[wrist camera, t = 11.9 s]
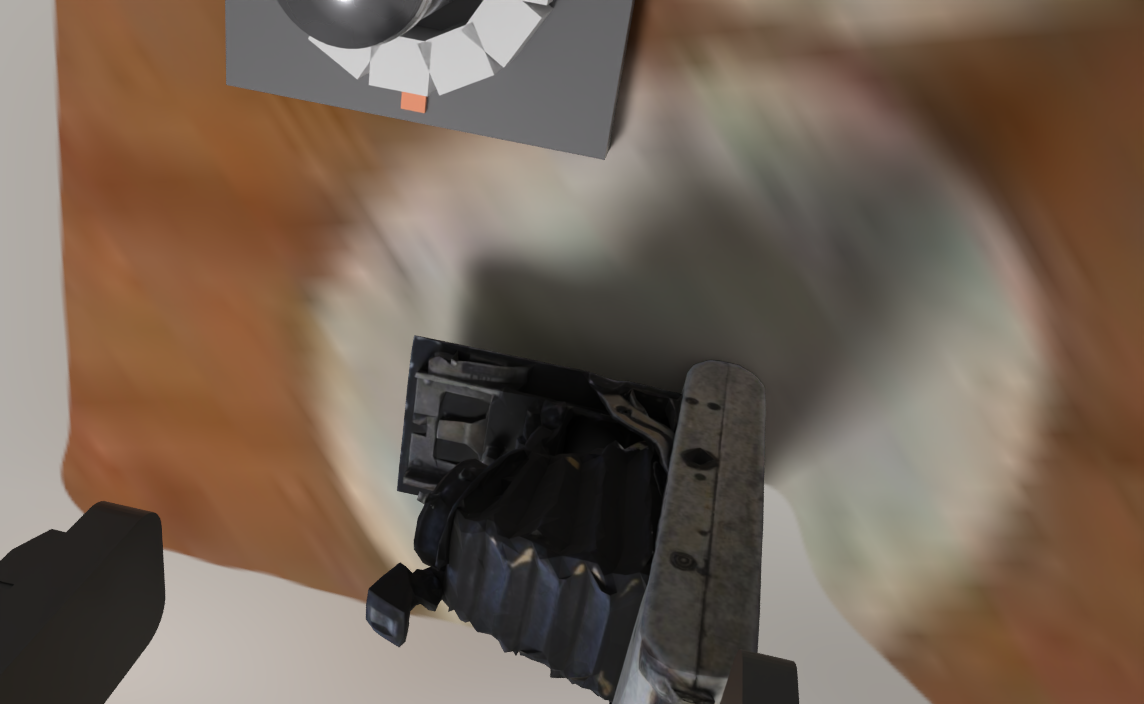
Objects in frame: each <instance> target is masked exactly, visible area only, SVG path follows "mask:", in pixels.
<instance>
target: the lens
mask: <svg viewBox="0 0 1144 704" xmlns="http://www.w3.org/2000/svg"><path fill="white" fill-rule="evenodd" d="M277 1H278V3H279V5H280V6H281V7H282V9H283V10H284V12H285V13H286V14H287V16H288V17H289V18H290V19H291V20H292V21H293V22H294V23H295V24H296V25H297V26H298V27H299V28H300V29H301V30H302V31H304V32H305V33H307V34H308V35H309V36H311V37H313V38H314V39H316V40H318V41H320V42H322V43H325V44H327V45H330V46H334V47H338V48H345V49H360V48H367V47H372V46H378V45H381V44H385V43H387V42H389V41H391V40H394V39H396V38H397V37H399V36H401V35H402V34H404V33H405V32H407V31H408V30H410V29H411V28H412V27H413V26H414V25H416V24H417V23H418V22H419V21H420V20H421V19H423V18H425V17H427V16H428V15H430V14H432V13H433V12H435V11H437V10H439V9H440V8H442V7H444V6H445V5H447V4H449V3H451V2H452V1H454V0H277Z"/></svg>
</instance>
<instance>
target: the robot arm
mask: <svg viewBox="0 0 1144 704" xmlns="http://www.w3.org/2000/svg"><path fill="white" fill-rule="evenodd" d="M164 581H165V580H164V563H163V543H162V526H161V520H160V518H159V516H158V515H157V514H156V513H154V512H150V511H145V510H141V509H136V508H132V507H128V506H123V505H119V504H115V503H110V502H106V501H101V502H98V503H96V504H95V505H93V506H92V507H91V508H90V509H89V510H88V511H87V512H86V513H85V514H84V515H83V516H82V517H81V518H80V519H79V520H78V521H77V522H76V523H75V524H74V525H73V526H72V527H71V528H70V529H69V530H68V531H67V532H62V531H58V530H53V529H51V530H49V531H47V532H45V533H43V534H41V535H39V536H37V537H35V538H33V539H31V540H30V541H28V542H26V543H24V544H22V545H20V546H18V547H16V548H14V549H12V550H11V551H10V552H9V553H8V554H7V555H6V556H5V557H4V558H3V559H2V560H1V561H0V704H104V703H105V702H106V700H107V699H108V698H109V696H110V695H111V694H112V692H113V691H114V690H115V688H116V687H117V686H118V684H119V683H120V682H121V680H122V679H123V678H124V676H125V675H126V674H127V672H128V671H129V670H130V668H131V667H132V666H133V664H134V663H135V662H136V660H137V659H138V658H139V656H140V655H141V653H142V652H143V651H144V650H145V648H146V647H147V646H148V644H149V643H150V641H151V640H152V638H153V636H154V634H155V633H156V630H157V628H158V626H159V623H160V621H161V618H162V614H163V610H164V605H165V582H164ZM797 679H798V677H797V667H796V664H795V662H794V661H790V660H786V659H782V658H777V657H773V656H769V655H764V654H760V653H756V652H751V651H747V650H742V649H739V650H738V651H737V653H736V655H735V658H734V661H733V664H732V667H731V670H730V673H729V677H728V680H727V683H726V686H725V689H724V692H723V695H722V699H721V702H720V704H799V693H798V680H797Z"/></svg>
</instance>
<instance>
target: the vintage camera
mask: <svg viewBox="0 0 1144 704" xmlns="http://www.w3.org/2000/svg"><path fill="white" fill-rule="evenodd" d="M765 421H766V396H765V387H764V385H763V384H762V383H761V382H760V380H759V379H758V378H757V377H756V376H755V375H754V374H753V373H751V372H749V371H748V370H746V369H744V368H743V367H741V366H739V365H736V364H732V363H728V362H722V361H714V360H708V361H705V362H701V363H698V364H694V365H693V366H692V368H691V369H690V370H689V371H688V372H687V376H686V379H685V383H684V387H683V390H682V394H680V393H675V392H670V391H666V390H662V389H658V388H654V387H650V386H646V385H642V384H638V383H633V382H629V381H615V380H612V379H608V378H605V377H602V376H600V375H597V374H594V373H591V372H587V371H583V370H578V369H574V368H569V367H564V366H559V365H554V364H550V363H545V362H540V361H536V360H531V359H527V358H521V357H516V356H511V355H506V354H502V353H497V352H493V351H488V350H483V349H479V348H474V347H469V346H464V345H459V344H454V343H450V342H445V341H440V340H435V339H430V338H425V337H420V336H414V340H413V346H412V352H411V360H410V368H409V377H408V385H407V396H406V406H405V416H404V426H403V436H402V446H401V455H400V464H399V475H398V486H397V491H400V492H404V493H409V494H414V495H418V498H417V500H418V501H420V502H421V503H423V504H425V505H424V507H423V509H422V511H421V513H420V515H419V517H418V520H417V526H416V532H415V538H414V550H415V551H416V553H417V554H418V556H419V557H420V559H421V561H422V562H423V563H424V564H426V565H428V566H431V567H429V568H426V569H424V570H420V569H417V570H416V571H415V572H413V573H412V572H411V571H410V570H409V569H408V568H407V567H406V566H404V565H403V564H402V563H399V564H397V565H396V566H395V567H394V568H392V569H391V570H390V571H389V572H387V573H386V574H385V575H383V576H382V577H381V578H380V579H379V580H378V581H377V582H376V583H374V584H373V585H372V586H371V587H370V588H369V590H368V596H367V603H366V620H367V621H368V623H369V624H370V625H371V627H372V628H373V630H374V631H375V632H377V633H378V634H379V635H380V636H382V637H383V638H385V639H387V640H388V641H390V642H391V643H393V644H394V645H396V646H398V647H400V646H401V645H402V644H403V643H404V642H405V641H406V636H407V632H408V627H409V617H410V611H411V610H412V609H413V608H414V607H415V606H416V605H418V604H422V605H423V606H424V607H425V608H427V609H428V610H431V611H436V608H437V606H438V604H439V603H440V601H441V600H443V601H444V602H445V603H446V605H447V606H448V607H449V611H452V610H455V612H456V614H457V615H458V617H459V619H460V620H461V621H464V622H469V621H470V623H471V624H472V625H473V627H474V628H475V630H476V631H477V632H481V633H486V634H490V635H492V636H493V637H495V638H496V639H497V640H498V641H499V642H500V645H501V647H502V649H503V651H504V652H511V651H513V652H514V653H515V655H517V653H518V652H520V655H523V656H525V657H527V658H529V659H531V660H534V661H537V662H540V663H543V664H545V665H546V666H548V667H549V668H550V669H551V674H550V677H552V678H567V679H569V681H570V682H571V683H572V684H577V685H579V686H580V687H582V688H586V689H590V690H592V691H593V692H594V693H595V694H596V695H597V696H600V697H601V698H603V699H604V700H609V702H610V703H609V704H720V702H721V699H722V695H723V692H724V689H725V686H726V683H727V680H728V677H729V673H730V670H731V667H732V664H733V661H734V658H735V655H736V653H737V651H738V650H739V649H742V650H747V651H751V652H756V653H757V651H758V634H759V617H760V589H761V557H762V537H763V507H764V505H763V503H764V461H765ZM449 611H448V612H449Z"/></svg>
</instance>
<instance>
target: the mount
mask: <svg viewBox="0 0 1144 704" xmlns="http://www.w3.org/2000/svg"><path fill="white" fill-rule="evenodd" d="M634 3H635V0H454V1H452V2H451V3H449V4H447V5H445V6H444V7H442V8H440V9H439V10H437V11H435V12H433V13H432V14H430V15H428V16H427V17H425V18H423V19H421V20H420V21H419V22H418V23H417V24H416V25H414V26H413V27H412V28H411V29H410V30H408V31H407V32H405V33H404V34H402V35H401V36H399V37H397V38H396V39H394V40H391V41H389V42H387V43H385V44H381V45H378V46H372V47H367V48H360V49H345V48H338V47H334V46H330V45H327V44H325V43H322V42H320V41H318V40H316V39H314V38H313V37H311V36H309V35H308V34H307V33H305V32H304V31H302V30H301V29H300V28H299V27H298V26H297V25H296V24H295V23H294V22H293V21H292V20H291V19H290V18H289V17H288V16H287V14H286V13H285V12H284V10H283V9H282V7H281V6H280V5H279V3H278V1H277V0H225V12H226V85H230V86H235V87H240V88H245V89H251V90H256V91H261V92H266V93H271V94H276V95H281V96H286V97H291V98H296V99H301V100H306V101H311V102H316V103H321V104H326V105H331V106H336V107H341V108H346V109H351V110H356V111H361V112H366V113H371V114H376V115H381V116H386V117H391V118H396V119H401V120H407V121H412V122H417V123H422V124H427V125H432V126H437V127H442V128H447V129H452V130H457V131H462V132H467V133H472V134H477V135H482V136H487V137H492V138H497V139H502V140H507V141H512V142H517V143H522V144H527V145H532V146H537V147H542V148H547V149H552V150H557V151H563V152H568V153H573V154H578V155H583V156H588V157H593V158H598V159H603V160H605V158H606V156H607V153H608V150H609V145H610V139H611V133H612V128H613V122H614V116H615V111H616V105H617V99H618V94H619V88H620V82H621V77H622V71H623V65H624V60H625V54H626V48H627V43H628V37H629V31H630V26H631V20H632V14H633V9H634Z"/></svg>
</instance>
